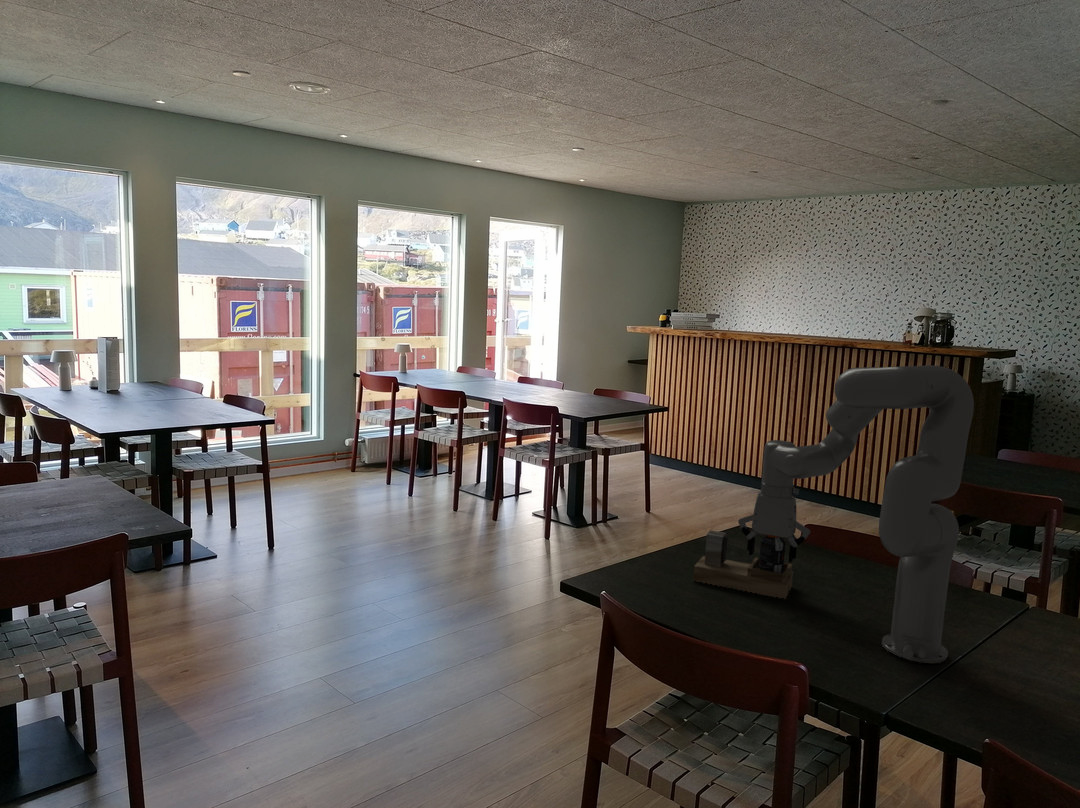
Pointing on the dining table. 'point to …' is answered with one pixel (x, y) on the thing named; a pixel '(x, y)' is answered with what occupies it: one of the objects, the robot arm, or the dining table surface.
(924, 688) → the dining table surface
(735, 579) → the wooden holder
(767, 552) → the pill bottle
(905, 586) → the robot arm
